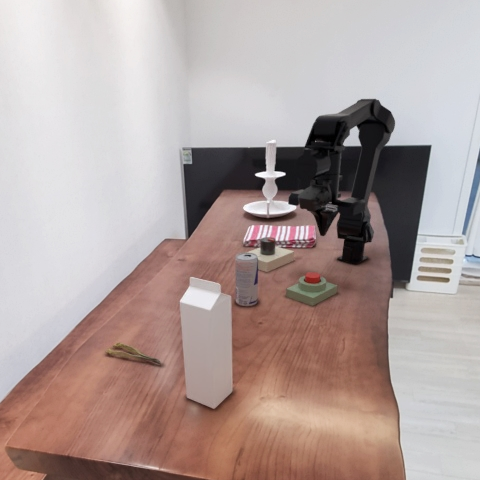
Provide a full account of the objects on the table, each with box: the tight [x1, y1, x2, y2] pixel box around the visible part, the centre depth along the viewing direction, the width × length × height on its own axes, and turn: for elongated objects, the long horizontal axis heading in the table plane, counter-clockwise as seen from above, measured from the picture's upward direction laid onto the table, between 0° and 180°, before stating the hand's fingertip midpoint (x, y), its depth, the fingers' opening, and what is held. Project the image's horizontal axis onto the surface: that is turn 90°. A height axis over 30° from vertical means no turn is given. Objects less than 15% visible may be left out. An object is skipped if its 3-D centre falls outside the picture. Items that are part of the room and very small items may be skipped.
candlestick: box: [242, 139, 297, 219], centre depth 175 cm, size 21×25×28 cm
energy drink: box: [234, 252, 259, 307], centre depth 112 cm, size 5×5×12 cm
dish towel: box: [242, 224, 317, 249], centre depth 155 cm, size 17×23×4 cm
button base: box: [285, 275, 338, 307], centre depth 116 cm, size 10×8×4 cm
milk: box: [179, 276, 234, 410], centre depth 77 cm, size 6×6×22 cm
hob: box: [245, 247, 295, 273], centre depth 137 cm, size 12×10×3 cm
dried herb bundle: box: [105, 342, 162, 367], centre depth 95 cm, size 4×13×2 cm, turn 63°
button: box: [304, 271, 321, 284], centre depth 115 cm, size 4×4×2 cm
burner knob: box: [259, 237, 276, 255], centre depth 136 cm, size 4×4×4 cm
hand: (322, 235), depth 119 cm, fingers closed
